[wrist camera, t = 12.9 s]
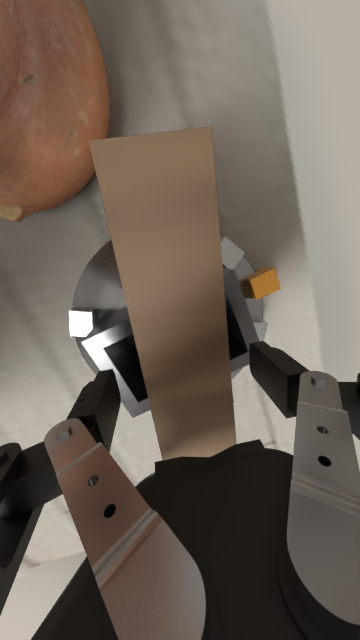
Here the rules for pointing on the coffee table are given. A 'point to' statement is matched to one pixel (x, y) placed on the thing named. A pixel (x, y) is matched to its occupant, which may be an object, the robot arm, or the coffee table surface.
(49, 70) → the ceramic jug
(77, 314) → the grey disc
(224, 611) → the robot arm
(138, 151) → the brown wooden block
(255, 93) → the coffee table surface
